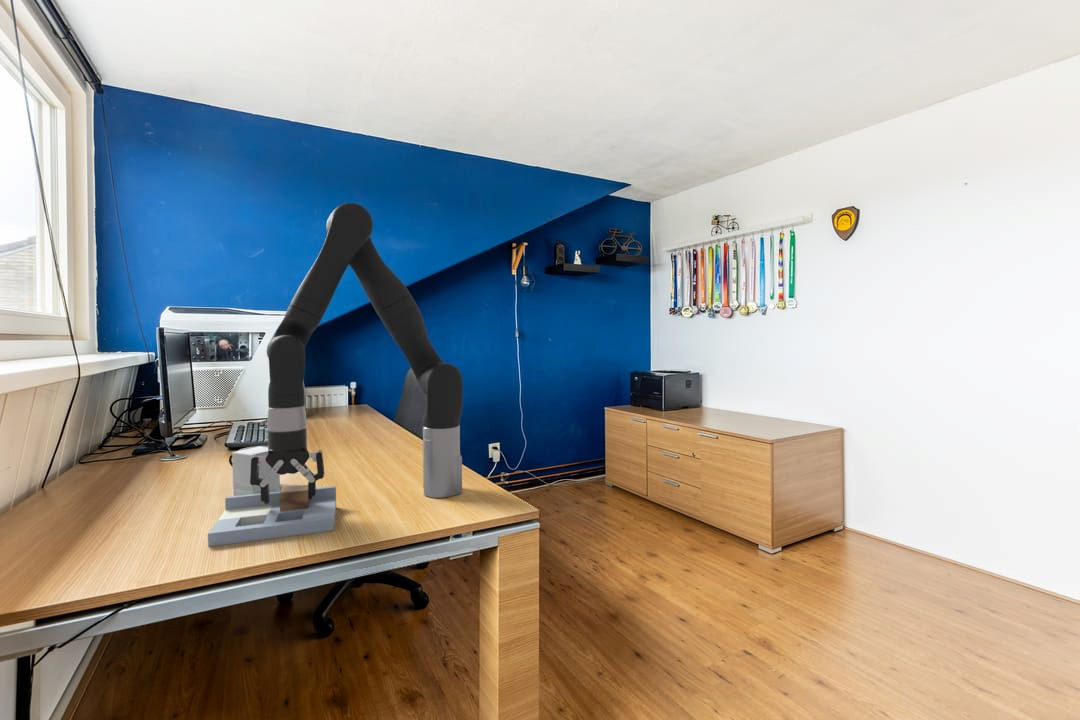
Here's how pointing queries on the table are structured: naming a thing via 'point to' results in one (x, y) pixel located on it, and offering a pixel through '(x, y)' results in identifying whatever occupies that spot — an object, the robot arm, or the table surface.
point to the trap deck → (272, 518)
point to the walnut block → (294, 498)
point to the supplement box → (243, 471)
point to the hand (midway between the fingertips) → (288, 500)
